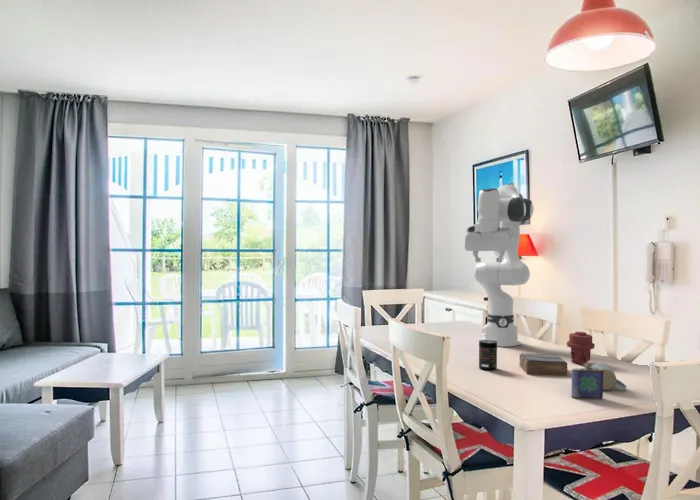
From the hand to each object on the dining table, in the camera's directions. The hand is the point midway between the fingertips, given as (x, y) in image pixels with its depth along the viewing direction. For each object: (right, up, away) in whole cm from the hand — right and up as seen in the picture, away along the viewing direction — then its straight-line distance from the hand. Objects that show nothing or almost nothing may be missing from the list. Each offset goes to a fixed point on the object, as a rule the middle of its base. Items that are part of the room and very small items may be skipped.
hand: (488, 262), depth 203 cm
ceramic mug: (+29, -41, -37) cm, 62 cm away
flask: (+18, -41, -47) cm, 65 cm away
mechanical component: (+36, -40, -2) cm, 54 cm away
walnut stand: (+17, -40, -14) cm, 46 cm away
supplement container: (-3, -40, -11) cm, 42 cm away
